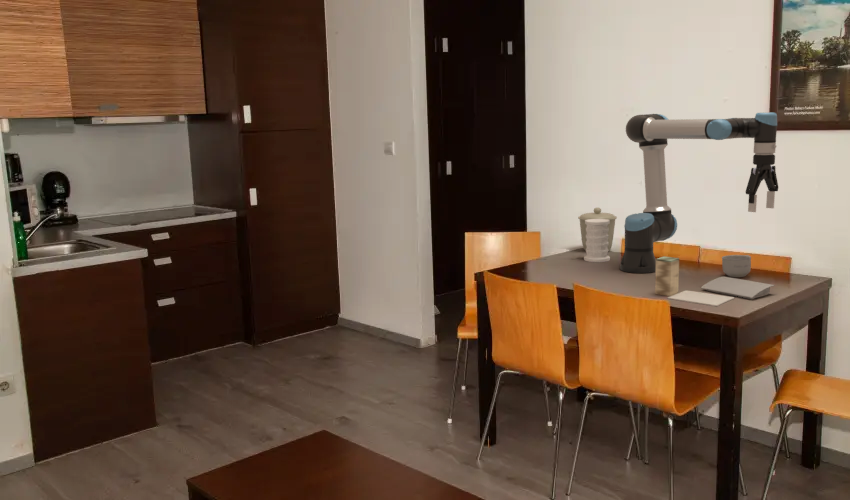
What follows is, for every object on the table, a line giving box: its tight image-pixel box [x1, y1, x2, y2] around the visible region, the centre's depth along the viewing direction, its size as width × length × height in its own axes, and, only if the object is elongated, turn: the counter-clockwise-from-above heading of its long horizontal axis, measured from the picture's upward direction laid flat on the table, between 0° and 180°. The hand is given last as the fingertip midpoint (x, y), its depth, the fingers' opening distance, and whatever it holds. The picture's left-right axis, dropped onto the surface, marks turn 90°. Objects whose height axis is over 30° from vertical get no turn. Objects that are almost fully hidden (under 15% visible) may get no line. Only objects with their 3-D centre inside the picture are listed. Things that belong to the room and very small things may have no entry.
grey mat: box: [667, 289, 735, 307], centre depth 265 cm, size 18×14×1 cm
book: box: [700, 275, 775, 300], centre depth 273 cm, size 15×23×4 cm, turn 35°
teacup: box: [721, 254, 752, 278], centre depth 298 cm, size 14×11×8 cm
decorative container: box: [583, 219, 611, 263], centre depth 339 cm, size 12×12×18 cm
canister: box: [578, 207, 618, 251], centre depth 360 cm, size 18×18×21 cm
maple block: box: [654, 255, 680, 297], centre depth 273 cm, size 6×6×13 cm
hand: (761, 210), depth 285 cm, fingers open, 13 cm apart
